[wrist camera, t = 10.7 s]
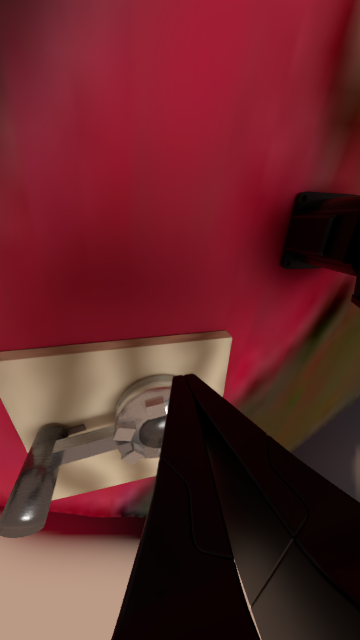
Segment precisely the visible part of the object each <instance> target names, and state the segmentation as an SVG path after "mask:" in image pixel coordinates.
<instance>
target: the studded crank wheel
mask: <svg viewBox="0 0 360 640" xmlns="http://www.w3.org/2000/svg"><path fill="white" fill-rule="evenodd" d="M172 379H173V376H169V375H160V376H153V377H149V378H145V379H143V380H140V381H138V382H136V383H135V384H133V385H132V386H130V387H129V388H128V389H127V390H125V392H124V393H123V394H122V395H121V397H120V398H119V400H118V402H117V405H116V413H115V425H112V426H108V427H105V428H101V429H97V430H93V431H90V432H86V433H82V434H79V435H75V436H71V437H69V434H68V432H67V431H66V430H65V429H63V428H61V427H56V426H51V427H46V428H43V429H41V430H40V431H38V432H37V434H36V436H35V439H34V441H33V443H32V446H31V448H30V450H29V453H28V455H27V457H26V459H25V462H24V464H23V466H22V469H21V471H20V473H19V476H18V478H17V480H16V483H15V485H14V487H13V490H12V492H11V494H10V497H9V499H8V501H7V504H6V506H5V509H4V511H3V513H2V516H1V518H0V535H1V536H3V537H9V538H17V537H24V536H28V535H31V534H34V533H36V532H38V531H39V530H41V529H42V528H43V527H44V525H45V521H46V518H47V514H48V511H49V507H50V503H51V500H52V496H53V492H54V489H55V485H56V481H57V478H58V474H59V470H60V467H61V465H63V464H67V463H70V462H74V461H77V460H81V459H84V458H88V457H91V456H95V455H98V454H102V453H105V452H109V451H112V450H116V449H118V450H119V453H120V454H121V453H122V454H121V460H123V461H125V462H127V463H129V464H132V465H134V464H135V463H136V462H138V461H139V460H141V459H142V458H159V457H160V451H161V445H162V439H163V433H164V427H165V421H166V415H167V409H168V403H169V397H170V391H171V385H172Z"/></svg>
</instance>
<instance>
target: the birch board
mask: <svg viewBox="0 0 360 640" xmlns="http://www.w3.org/2000/svg"><path fill="white" fill-rule="evenodd" d="M231 342H232V336H231V335H230V334H229V333H228V332H227V331H215V332H205V333H194V334H183V335H173V336H162V337H152V338H141V339H131V340H120V341H110V342H99V343H89V344H78V345H68V346H57V347H47V348H36V349H25V350H15V351H4V352H0V398H1V400H2V402H3V404H4V406H5V408H6V410H7V412H8V414H9V416H10V418H11V420H12V422H13V424H14V426H15V428H16V430H17V432H18V434H19V436H20V438H21V440H22V442H23V444H24V446H25V448H26V450H27V452H28V453H29V450H30V448H31V446H32V443H33V441H34V439H35V436H36V434H37V432H38V431H40V430H41V429H43V428H46V427H51V426H56V427H61V428H63V429H65V430H66V431H67V432H68V434H69V437H71V436H75V435H79V434H82V433H86V432H90V431H93V430H97V429H101V428H105V427H108V426H112V425H115V413H116V405H117V402H118V400H119V398H120V397H121V395H122V394H123V393H124V392H125V390H127V389H128V388H129V387H130V386H132V385H133V384H135V383H136V382H138V381H140V380H143V379H145V378H149V377H153V376H160V375H169V376H177V375H183V376H184V375H185V374H191V373H193V374H195V375H196V376H198V377H199V378H200V379H201V380H203V381H204V382H205V383H206V384H207V385H209V386H210V387H211V388H212V389H213V390H215V391H216V392H217V393H218V394H219V395H221V396H222V397H223V392H224V386H225V380H226V373H227V367H228V361H229V355H230V348H231ZM121 454H122V453H121ZM121 454H120V453H119V450H118V449H116V450H112V451H109V452H105V453H102V454H98V455H95V456H91V457H88V458H84V459H81V460H77V461H74V462H70V463H67V464H63V465H61V467H60V470H59V474H58V478H57V481H56V485H55V489H54V492H53V496H52V500H56V499H60V498H64V497H68V496H72V495H77V494H81V493H85V492H89V491H93V490H98V489H102V488H106V487H110V486H114V485H118V484H123V483H127V482H131V481H135V480H139V479H143V478H148V477H152V476H156V474H157V468H158V462H159V458H142V459H141V460H139V461H138V462H136V463H135V464H134V465H132V464H129V463H127V462H125V461H123V460H121Z"/></svg>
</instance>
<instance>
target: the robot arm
mask: <svg viewBox="0 0 360 640" xmlns="http://www.w3.org/2000/svg"><path fill="white" fill-rule="evenodd" d="M302 196H303V201H302ZM286 262H287V264H286ZM285 264H286V265H285ZM280 265H281V267H282V268H285V269H301V268H326V269H330V270H334V271H338V272H342V273H346V274H350V275H354V276H357V277H356V283H355V289H354V294H353V295H352V299H351V302H352V303H354V304H355V305H357V306H358V307H359V308H360V195H350V194H335V193H320V192H300V193H299V194H298V195H297V197H296V200H295V204H294V209H293V213H292V217H291V221H290V225H289V230H288V234H287V238H286V242H285V246H284V251H283V255H282V259H281V264H280ZM234 560H235V562H234ZM235 563H236V564H235ZM236 565H237V568H238V571H239V574H240V577H241V580H242V583H243V586H244V589H245V592H246V595H247V598H248V600H249V603H250V605H251V609H252V613H253V615H254V618H255V621H256V624H257V627H258V630H259V633H260V636H261V639H262V640H360V503H359V502H358V501H357V500H355V499H354V498H352V497H351V496H350V495H348V494H346V493H345V492H344V491H342V490H341V489H339V488H338V487H337V486H335V485H334V484H333V483H331V482H330V481H328V480H327V479H325V478H324V477H323V476H321V475H320V474H318V473H317V472H315V471H314V470H313V469H311V468H310V467H309V466H307V465H306V464H305V463H303V462H302V461H301V460H299V459H298V458H297V457H295V456H294V455H293V454H291V453H290V452H289V451H288V450H286V449H285V448H284V447H283V446H281V445H280V444H279V443H278V442H276V441H275V440H274V439H273V438H272V437H270V436H269V435H267V434H266V433H265V432H264V431H263V430H262V429H261V428H259V427H258V426H257V425H256V424H255V423H253V422H252V421H251V420H250V419H248V418H247V417H246V416H245V415H244V414H242V413H241V412H240V411H239V410H238V409H236V408H235V407H234V406H233V405H232V404H230V403H229V402H228V401H227V400H226V399H224V398H223V397H222V396H221V395H219V394H218V393H217V392H216V391H215V390H213V389H212V388H211V387H210V386H209V385H207V384H206V383H205V382H204V381H203V380H201V379H200V378H199V377H198V376H196V375H195V374H193V373H191V374H185V375H184V376H183V375H177V376H173V379H172V385H171V391H170V397H169V403H168V409H167V415H166V421H165V427H164V433H163V439H162V445H161V451H160V457H159V462H158V468H157V474H156V479H155V484H154V489H153V494H152V499H151V502H150V506H149V510H148V514H147V518H146V522H145V525H144V529H143V533H142V536H141V539H140V543H139V547H138V550H137V554H136V557H135V561H134V564H133V568H132V571H131V575H130V578H129V582H128V585H127V589H126V592H125V596H124V599H123V603H122V606H121V610H120V613H119V617H118V620H117V623H116V626H115V629H114V633H113V636H112V639H111V640H260V637H259V635H258V633H257V630H256V627H255V625H254V622H253V620H252V617H251V614H250V611H249V609H248V606H247V602H246V599H245V596H244V593H243V590H242V587H241V583H240V579H239V576H238V572H237V569H236Z"/></svg>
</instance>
